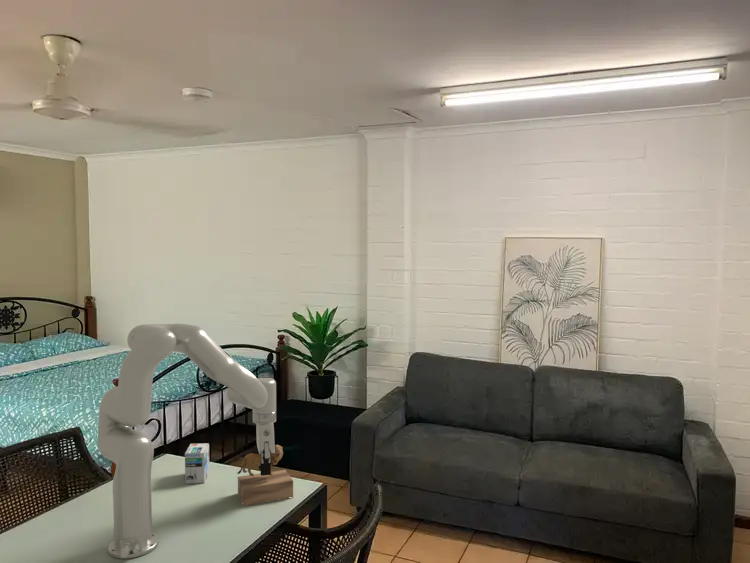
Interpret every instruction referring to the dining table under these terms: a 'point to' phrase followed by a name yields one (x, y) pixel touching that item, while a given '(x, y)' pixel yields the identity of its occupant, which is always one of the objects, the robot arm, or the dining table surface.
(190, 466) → the light bulb box
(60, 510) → the dining table surface
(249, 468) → the lion figurine
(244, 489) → the walnut block
